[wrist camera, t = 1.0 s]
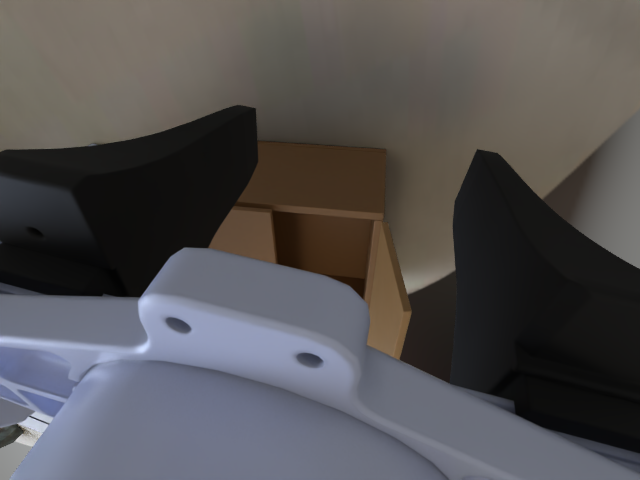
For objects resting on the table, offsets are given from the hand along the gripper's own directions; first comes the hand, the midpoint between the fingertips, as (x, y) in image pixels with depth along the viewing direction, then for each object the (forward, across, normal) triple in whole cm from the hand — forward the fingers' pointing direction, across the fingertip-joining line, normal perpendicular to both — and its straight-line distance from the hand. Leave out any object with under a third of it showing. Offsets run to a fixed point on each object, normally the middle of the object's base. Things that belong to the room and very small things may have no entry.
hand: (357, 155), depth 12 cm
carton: (+11, +4, +14) cm, 18 cm away
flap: (+1, -3, +12) cm, 13 cm away
